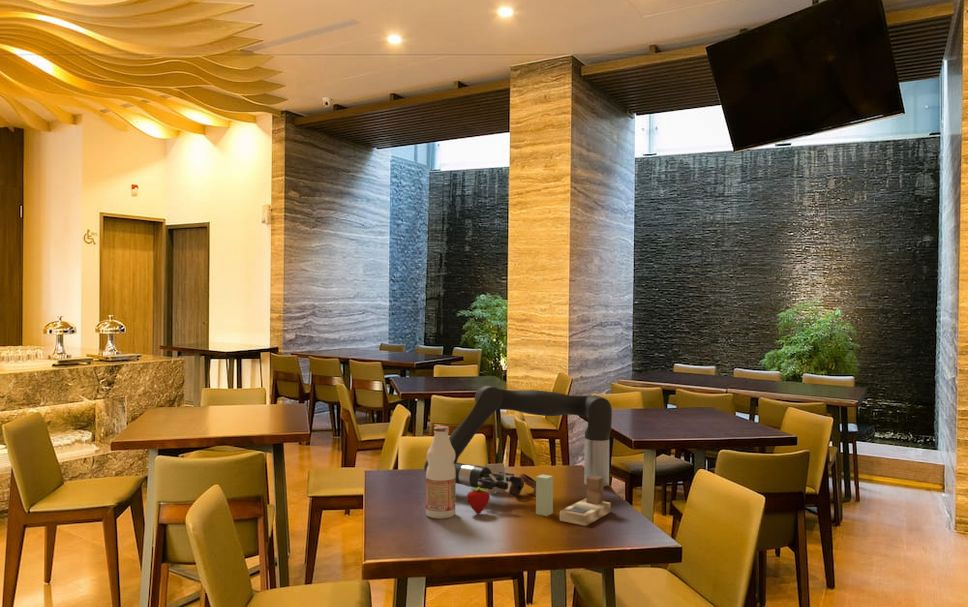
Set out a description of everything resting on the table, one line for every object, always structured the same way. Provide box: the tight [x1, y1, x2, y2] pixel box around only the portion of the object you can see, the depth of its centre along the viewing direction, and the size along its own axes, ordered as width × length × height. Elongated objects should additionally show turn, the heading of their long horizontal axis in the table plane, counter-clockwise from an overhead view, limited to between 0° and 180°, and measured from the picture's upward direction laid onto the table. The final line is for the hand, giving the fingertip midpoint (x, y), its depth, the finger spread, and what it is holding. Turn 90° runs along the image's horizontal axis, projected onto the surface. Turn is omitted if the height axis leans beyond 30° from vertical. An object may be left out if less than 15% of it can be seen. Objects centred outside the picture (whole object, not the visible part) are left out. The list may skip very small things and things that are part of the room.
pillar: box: [535, 473, 554, 517], centre depth 221 cm, size 4×4×12 cm
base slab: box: [559, 476, 612, 527], centre depth 219 cm, size 18×9×11 cm, turn 145°
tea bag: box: [484, 463, 506, 494], centre depth 248 cm, size 4×7×10 cm, turn 106°
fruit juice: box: [425, 425, 457, 520], centre depth 219 cm, size 9×9×28 cm
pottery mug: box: [508, 473, 536, 497], centre depth 243 cm, size 12×10×8 cm
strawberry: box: [466, 482, 490, 515], centre depth 220 cm, size 6×8×10 cm
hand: (514, 483), depth 227 cm, fingers open, 8 cm apart
